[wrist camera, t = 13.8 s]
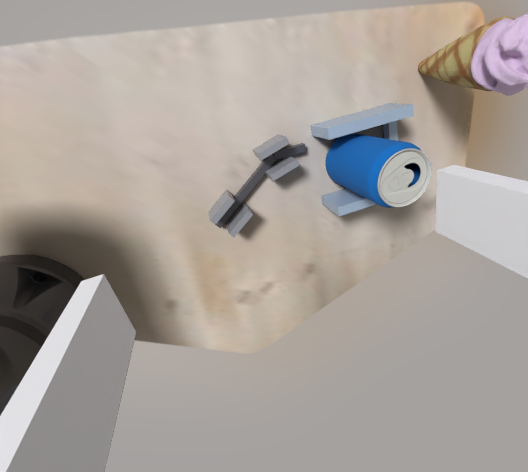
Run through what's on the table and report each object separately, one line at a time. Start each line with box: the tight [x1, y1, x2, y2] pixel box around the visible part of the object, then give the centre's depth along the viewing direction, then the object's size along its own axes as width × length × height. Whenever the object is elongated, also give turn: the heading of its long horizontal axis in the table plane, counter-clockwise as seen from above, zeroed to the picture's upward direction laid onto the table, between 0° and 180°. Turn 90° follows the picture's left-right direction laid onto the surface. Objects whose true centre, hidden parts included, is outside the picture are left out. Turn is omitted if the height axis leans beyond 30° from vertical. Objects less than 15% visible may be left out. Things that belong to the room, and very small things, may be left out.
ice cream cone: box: [418, 13, 528, 96], centre depth 31 cm, size 7×6×15 cm
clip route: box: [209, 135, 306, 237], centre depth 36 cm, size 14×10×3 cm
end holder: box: [311, 103, 413, 216], centre depth 37 cm, size 11×10×5 cm
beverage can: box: [326, 133, 432, 207], centre depth 34 cm, size 6×6×12 cm
